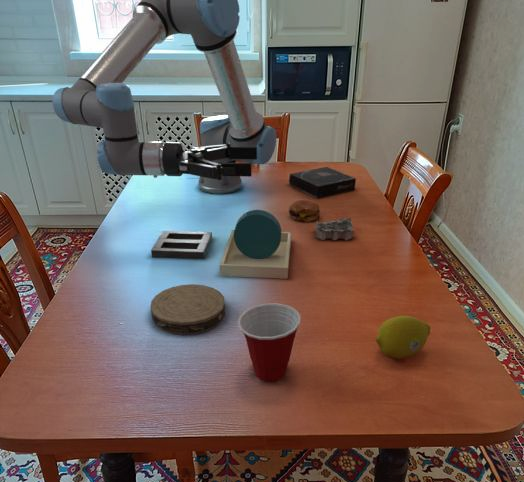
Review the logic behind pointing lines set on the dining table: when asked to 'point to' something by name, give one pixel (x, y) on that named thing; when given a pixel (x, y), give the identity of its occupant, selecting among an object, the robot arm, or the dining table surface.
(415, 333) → the lemon
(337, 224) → the egg carton
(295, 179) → the black box
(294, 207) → the burger
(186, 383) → the dining table surface
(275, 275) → the tray
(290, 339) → the plastic cup
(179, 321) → the wood log slice
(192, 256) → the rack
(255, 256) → the disc
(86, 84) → the robot arm
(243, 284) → the dining table surface
